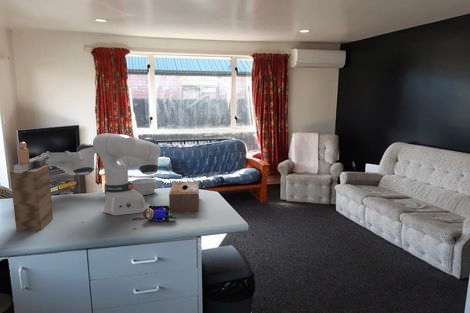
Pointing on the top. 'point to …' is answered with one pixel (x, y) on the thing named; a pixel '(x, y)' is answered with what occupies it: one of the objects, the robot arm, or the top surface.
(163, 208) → the character figurine
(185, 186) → the tissue box cover
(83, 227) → the top surface
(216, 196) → the top surface
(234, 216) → the top surface
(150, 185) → the paper bowls
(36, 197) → the stand
